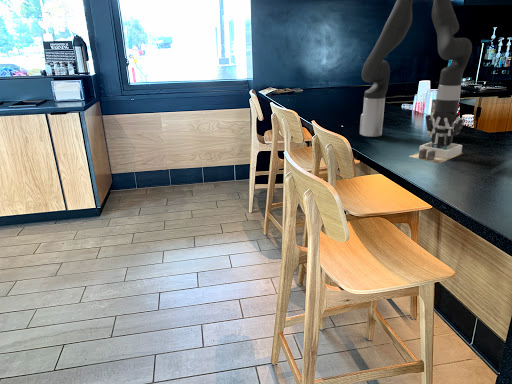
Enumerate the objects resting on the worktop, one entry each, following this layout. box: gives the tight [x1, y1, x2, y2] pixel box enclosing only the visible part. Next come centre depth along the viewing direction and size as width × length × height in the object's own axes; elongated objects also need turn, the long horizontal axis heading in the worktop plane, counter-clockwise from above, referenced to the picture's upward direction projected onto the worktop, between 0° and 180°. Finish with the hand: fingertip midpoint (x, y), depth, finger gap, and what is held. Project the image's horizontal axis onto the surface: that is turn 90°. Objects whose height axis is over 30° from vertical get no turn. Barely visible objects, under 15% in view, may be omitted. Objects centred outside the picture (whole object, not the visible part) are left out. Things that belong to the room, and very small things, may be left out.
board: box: [408, 149, 464, 164], centre depth 143 cm, size 12×18×4 cm, turn 130°
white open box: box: [418, 141, 463, 159], centre depth 145 cm, size 11×12×3 cm
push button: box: [432, 125, 450, 150], centre depth 143 cm, size 7×5×10 cm
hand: (440, 144), depth 144 cm, fingers closed on push button, 4 cm apart
